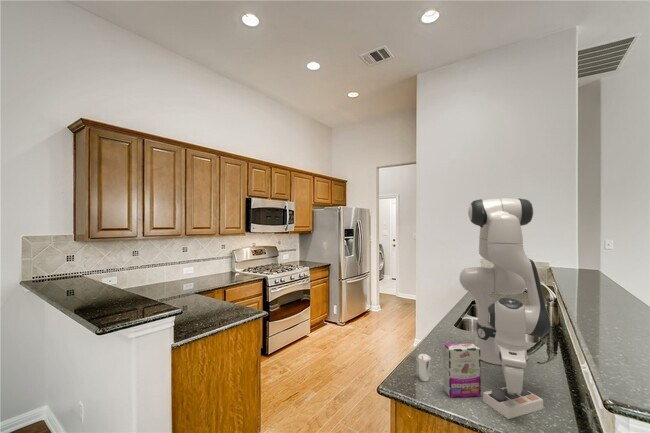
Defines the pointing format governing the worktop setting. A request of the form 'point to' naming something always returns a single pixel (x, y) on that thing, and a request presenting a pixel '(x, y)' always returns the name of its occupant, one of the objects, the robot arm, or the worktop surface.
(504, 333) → the robot arm
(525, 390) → the button
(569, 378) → the worktop surface
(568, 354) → the worktop surface
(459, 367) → the candy bar box
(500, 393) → the button
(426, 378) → the milkshake
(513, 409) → the button board
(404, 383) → the worktop surface
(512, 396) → the button middle
